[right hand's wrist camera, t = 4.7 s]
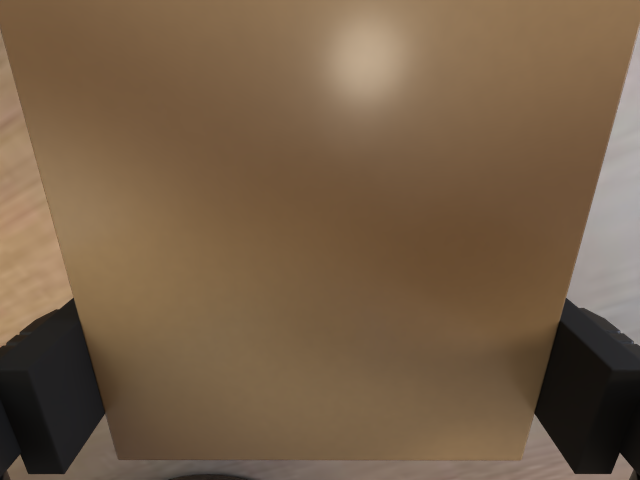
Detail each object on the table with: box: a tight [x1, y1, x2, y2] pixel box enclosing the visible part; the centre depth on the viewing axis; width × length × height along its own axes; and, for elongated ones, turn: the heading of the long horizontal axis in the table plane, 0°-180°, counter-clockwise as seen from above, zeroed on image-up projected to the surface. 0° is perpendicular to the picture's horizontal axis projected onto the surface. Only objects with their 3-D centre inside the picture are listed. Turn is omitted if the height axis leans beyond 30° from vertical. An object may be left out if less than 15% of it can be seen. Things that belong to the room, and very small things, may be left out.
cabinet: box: [0, 0, 640, 460], centre depth 12 cm, size 17×11×11 cm, turn 0°
